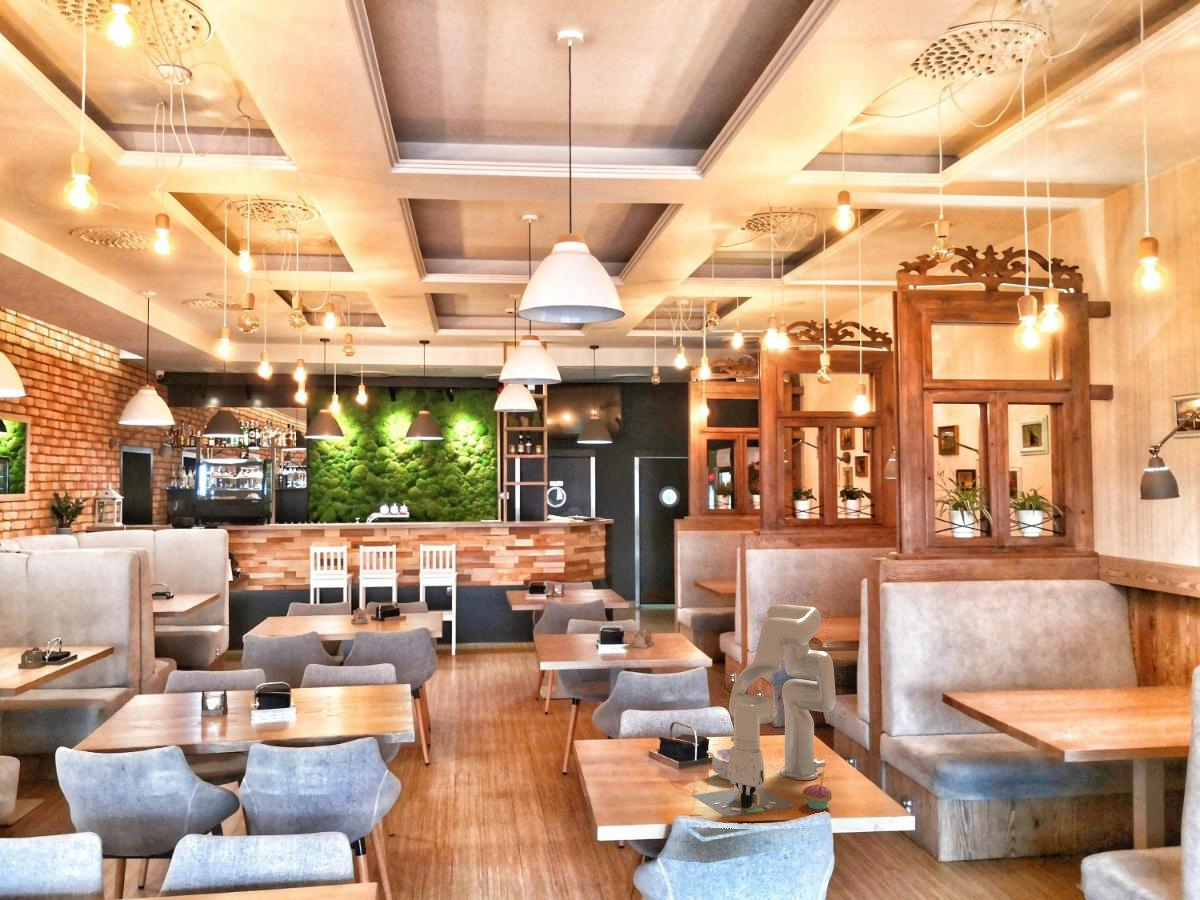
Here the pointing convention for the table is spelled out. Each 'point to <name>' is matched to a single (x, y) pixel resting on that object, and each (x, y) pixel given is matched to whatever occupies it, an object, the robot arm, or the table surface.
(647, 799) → the table surface
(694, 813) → the table surface
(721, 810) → the board
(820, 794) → the cupcake
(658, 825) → the table surface
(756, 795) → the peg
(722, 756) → the light grey bowl
